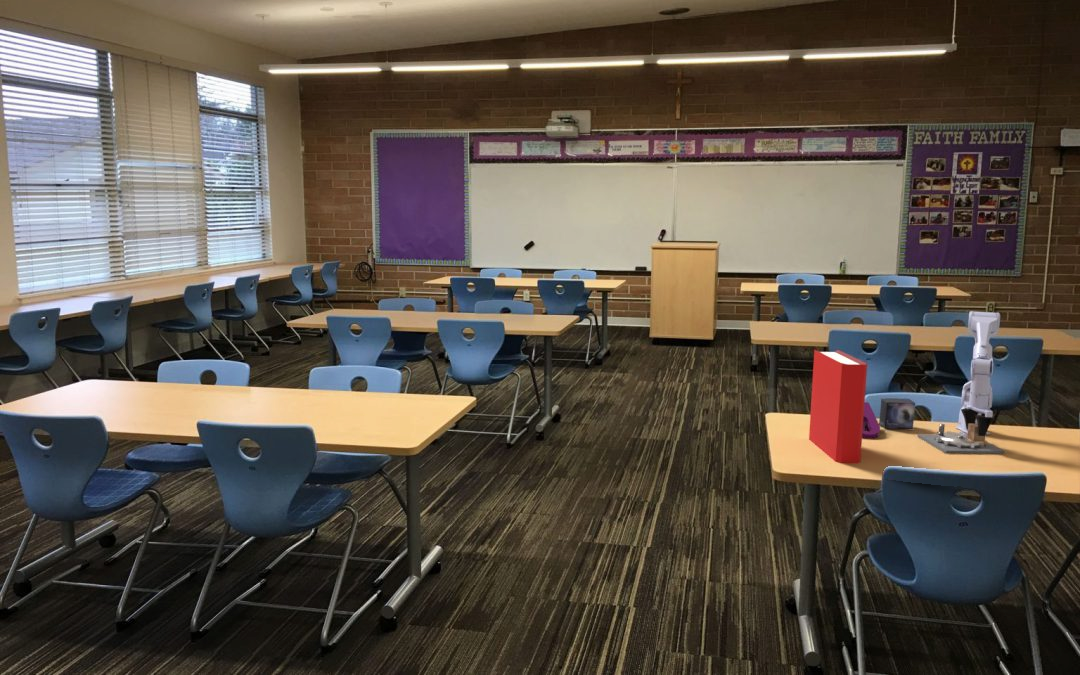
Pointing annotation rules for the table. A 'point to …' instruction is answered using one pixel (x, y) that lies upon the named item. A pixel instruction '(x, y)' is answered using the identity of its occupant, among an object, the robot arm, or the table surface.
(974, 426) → the link block
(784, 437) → the table surface
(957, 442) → the sprocket
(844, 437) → the book
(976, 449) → the base plate
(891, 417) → the small box
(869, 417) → the mounting bracket
